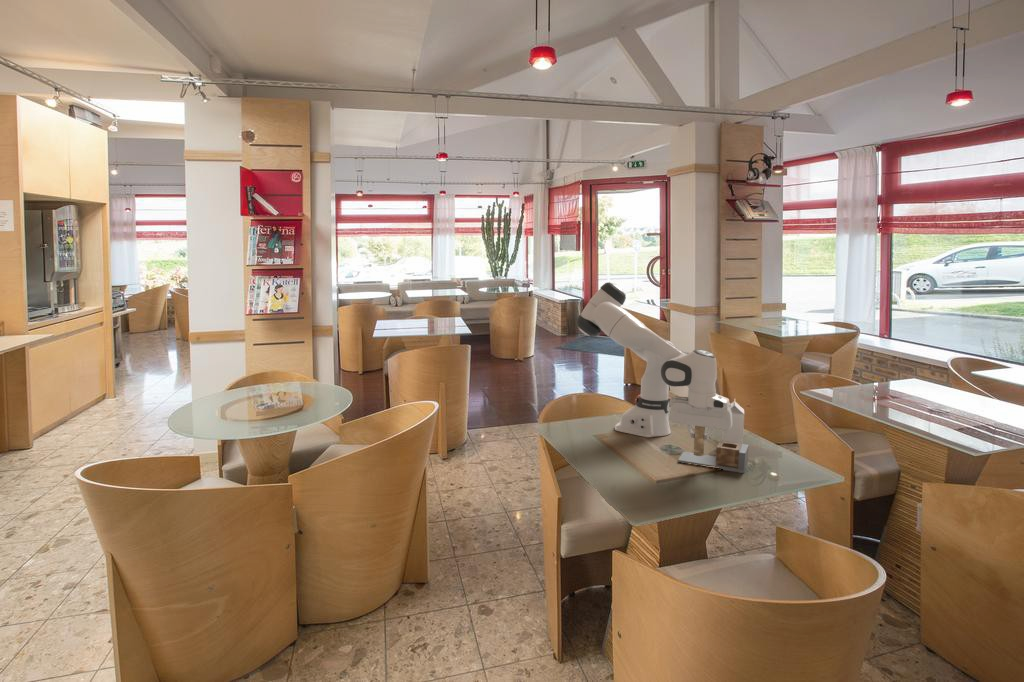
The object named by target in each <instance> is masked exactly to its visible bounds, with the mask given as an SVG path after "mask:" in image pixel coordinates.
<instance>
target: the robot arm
mask: <svg viewBox="0 0 1024 682" xmlns="http://www.w3.org/2000/svg"><path fill="white" fill-rule="evenodd" d="M626 299H627V297H626V293H625V291H624V290H623V288H622V287H621V286H619V284H616V283H613V282H610V281H609V282H605V283H604V284H602V286H600V287H599V289H598V290H597V291H596V292H595V294H593V296H592V297H591V298H590V299H589V301H588V302H587V304H586V305H585V307H584V308H583V310H582V311H581V313H580V314H579V315H578V317H577V319H576V321H575V322H576V326H577V328H578V330H579V331H580V332H581V333H582V334H584V335H585V336H588V337H592V338H594V337H598V335H600V334H601V333H602V332H603V333H604V334H605V335H606V336H607V337H609V339H611V340H612V341H613V342H614V343H616V344H618V345H619V346H622V347H624V348H626V349H630V350H631V351H632V352H633V353H634V354H636V356H638V357H639V358H641V359H642V360H643V361H645V362H646V367H645V370H644V373H643V375H642V376H641V381H640V394H638V395H636V398H635V399H634V403H635V405H633V406H632V407H630V408H629V409H627V410H626V411H624V412H623V414H622V415H621V418H620V421H619V422H617V423H616V424H615V425H614V430H615V431H617V432H621V433H626V434H629V435H635V436H640V437H643V438H653V437H664V436H669V435H670V434H671V433H672V430H671V427H670V423H671V424H680V425H684V426H685V425H686V428H687V430H688V432H689V438H690V439H691V438H692V439H694V437H695V431H693V429H692V427H693V426H694V427H695V426H701V427H705V428H707V431H708V432H706V433H705V434H704V441H705V440H706V441H709V440H710V435H711V433H713V430H714V429H717V430H723V429H724V430H729V429H730V428H731V427H732V412H731V409H730V407H729V403H730V399H729V398H728V397H725V396H723V395H719V394H718V393H717V388H716V382H717V379H718V378H717V375H718V370H717V369H718V366H717V365H718V364H717V359H716V358H717V357H716V356H715V355H714V354H713V353H712V352H710V351H708V350H704V349H694V350H692V351H691V352H687V351H684V350H682V349H680V348H678V347H677V346H676V345H674V344H673V343H672V342H671V341H669V340H667V339H665V338H664V337H663V336H660V334H658V333H656V332H655V331H653V330H651V329H650V328H649V327H647V326H646V324H645V323H643V321H641V320H640V319H638V318H636V316H634V315H633V314H631V312H629V311H628V310H627V309H625V308H623V307H622V306H623V305H624V303H625V302H626ZM670 387H688V389H687V396H678V395H675V396H673V397H672V396H671V398H669V391H670V390H669V388H670ZM669 421H670V422H669Z"/></svg>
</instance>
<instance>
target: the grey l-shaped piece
mask: <svg viewBox="0 0 1024 682" xmlns="http://www.w3.org/2000/svg"><path fill="white" fill-rule="evenodd" d="M748 460H749V444H746V443H743V444H742V447H741V449H740V451H739V460H738V467H733V466H727V465H720V464H716V455H715V456H714V455H708V454H703V456H696V455H694V452H689V451H683V452H682V453H681V455H680V456H679V458H678V459H677V463H678V462H682V463H681V464H683V463H691V464H697V465H706V466H715V467H719V468H722V469H723V471H726V472H727V471H728V472H733V473H740V474H745V471H746V469H747V466H748V462H749V461H748Z"/></svg>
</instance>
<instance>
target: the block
mask: <svg viewBox="0 0 1024 682" xmlns="http://www.w3.org/2000/svg"><path fill="white" fill-rule="evenodd" d="M741 447H742V444H737V443H730V442H723V441H722V440H720V441H719V443H718V444H717V446H716V455H715V456H716V464H720V465H727V466H733V467H738V460H739V451H740V449H741Z"/></svg>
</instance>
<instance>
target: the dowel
mask: <svg viewBox="0 0 1024 682" xmlns="http://www.w3.org/2000/svg"><path fill="white" fill-rule="evenodd" d="M694 432H695V437H694V438H693V439H694V440H693V441H694V443H693V453H694V455H696V456H703V455H705V454H704V450H705V440H704V434H705V432H706V427H701V426H694Z"/></svg>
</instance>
